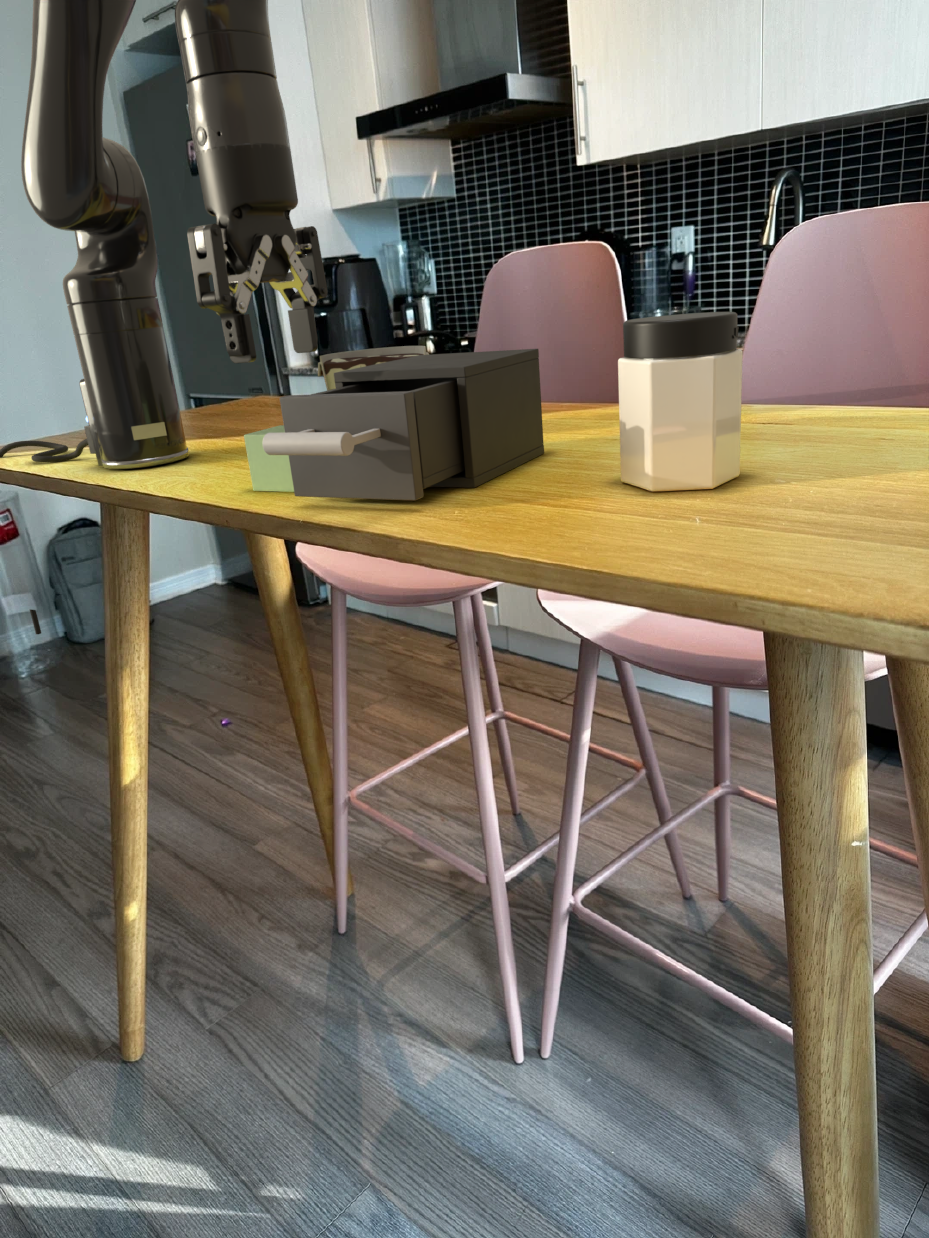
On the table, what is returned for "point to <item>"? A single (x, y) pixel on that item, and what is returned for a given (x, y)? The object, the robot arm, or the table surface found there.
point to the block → (267, 464)
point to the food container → (362, 360)
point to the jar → (680, 401)
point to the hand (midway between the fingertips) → (277, 357)
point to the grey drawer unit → (479, 405)
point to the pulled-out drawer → (372, 439)
